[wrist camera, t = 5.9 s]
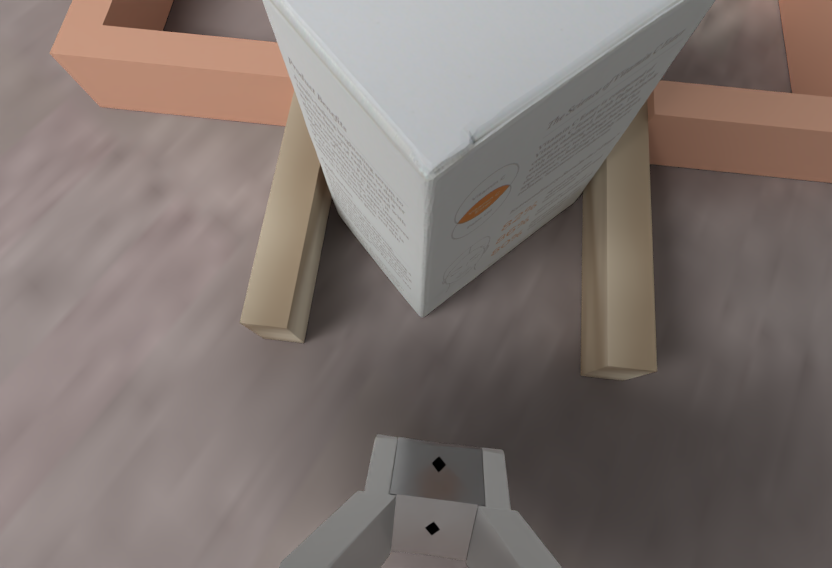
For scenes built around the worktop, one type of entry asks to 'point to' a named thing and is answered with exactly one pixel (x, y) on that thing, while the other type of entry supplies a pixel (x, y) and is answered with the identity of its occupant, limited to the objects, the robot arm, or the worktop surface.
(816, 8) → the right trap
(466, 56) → the small box
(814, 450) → the worktop surface
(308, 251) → the trap lane
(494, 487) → the robot arm
